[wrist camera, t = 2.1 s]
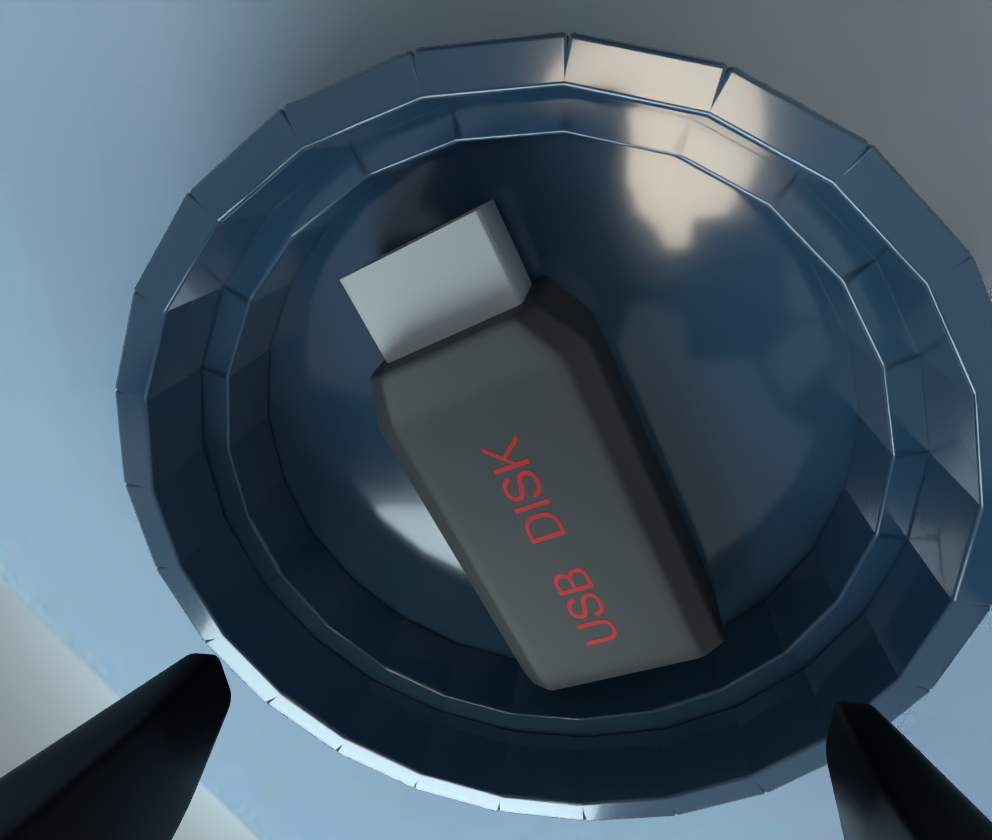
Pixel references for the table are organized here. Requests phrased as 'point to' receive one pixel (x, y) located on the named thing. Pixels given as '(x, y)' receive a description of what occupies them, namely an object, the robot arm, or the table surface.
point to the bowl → (651, 386)
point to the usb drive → (531, 457)
